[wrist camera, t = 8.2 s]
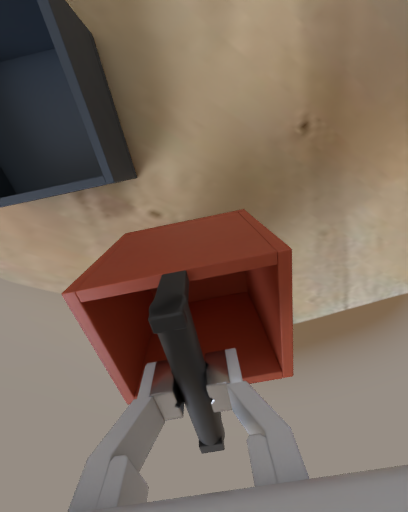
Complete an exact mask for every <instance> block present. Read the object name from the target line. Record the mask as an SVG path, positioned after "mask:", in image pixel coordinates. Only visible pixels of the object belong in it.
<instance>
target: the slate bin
mask: <svg viewBox="0 0 408 512" xmlns="http://www.w3.org/2000/svg"><path fill="white" fill-rule="evenodd" d="M135 178H137V175H136V172H135V169H134V166H133V163H132V160H131V156H130V153H129V150H128V147H127V144H126V141H125V137H124V134H123V131H122V128H121V125H120V122H119V118H118V115H117V112H116V109H115V106H114V102H113V99H112V96H111V93H110V90H109V87H108V83H107V80H106V77H105V74H104V71H103V68H102V64H101V61H100V58H99V55H98V52H97V49H96V45H95V42H94V39H93V36H92V34H91V32H90V31H89V30H88V29H87V27H86V26H85V25H84V24H83V22H82V21H81V20H80V19H79V17H78V16H77V15H76V13H75V12H74V11H73V10H72V8H71V7H70V6H69V5H68V3H67V2H66V1H65V0H0V207H5V206H10V205H14V204H19V203H24V202H28V201H33V200H38V199H42V198H47V197H51V196H56V195H61V194H65V193H70V192H75V191H79V190H84V189H89V188H93V187H98V186H103V185H107V184H112V183H116V182H121V181H126V180H130V179H135Z"/></svg>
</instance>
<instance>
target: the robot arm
mask: <svg viewBox="0 0 408 512" xmlns="http://www.w3.org/2000/svg"><path fill="white" fill-rule="evenodd" d="M205 364H206V368H207V369H206V371H205V376H206V388H207V392H208V395H209V397H210V398H211V405H212V408H213V411H214V412H221V411H228V410H233V412H234V413H235V415H236V416H237V418H238V419H239V421H240V422H241V424H242V425H243V426H244V428H245V429H246V431H247V432H248V434H249V436H248V439H247V445H248V450H249V456H250V462H251V468H252V473H253V479H254V484H255V487H250V488H244V489H236V490H230V491H222V492H215V493H209V494H201V495H195V496H188V497H181V498H174V499H167V500H160V501H153V502H147V496H148V489H149V487H148V485H147V483H146V482H145V480H144V479H143V477H142V476H141V475H140V473H139V471H140V469H141V468H142V466H143V464H144V462H145V459H146V458H147V456H148V454H149V452H150V450H151V448H152V446H153V444H154V442H155V441H156V438H157V437H158V435H159V433H160V431H161V429H162V427H163V425H164V423H165V421H167V420H172V419H177V418H182V417H183V411H184V400H183V398H182V395H181V393H180V390H179V388H178V385H177V383H176V380H175V378H174V375H173V373H172V370H171V368H170V365H169V363H168V360H163V361H157V362H151V363H147V364H146V366H145V369H144V373H143V377H142V381H141V385H140V389H139V393H138V396H137V399H134V400H133V401H132V402H131V404H130V405H129V406H128V408H127V409H126V410H125V411H124V413H123V414H122V415H121V417H120V418H119V419H118V421H117V422H116V423H115V424H114V425H113V427H112V428H111V429H110V431H109V432H108V433H107V434H106V436H105V437H104V438H103V440H102V441H101V442H100V444H99V445H98V446H97V447H96V449H95V450H94V451H93V452H92V454H91V455H90V456H89V457H88V459H87V461H86V464H85V466H84V470H83V472H82V475H81V477H80V480H79V483H78V485H77V488H76V491H75V493H74V496H73V499H72V501H71V504H70V507H69V509H68V512H408V465H402V466H395V467H388V468H381V469H375V470H368V471H360V472H354V473H347V474H340V475H333V476H326V477H319V478H312V479H309V476H308V473H307V471H306V468H305V465H304V462H303V460H302V457H301V455H300V452H299V449H298V446H297V443H296V441H295V438H294V435H293V433H292V430H291V428H290V426H289V425H288V424H287V423H286V422H285V421H284V420H283V419H282V418H281V417H280V416H279V415H278V414H277V413H276V412H275V411H274V410H273V409H272V407H271V406H270V405H269V404H268V403H267V402H266V401H265V400H264V399H263V398H262V397H261V396H260V395H259V394H258V393H257V392H256V391H255V390H254V389H253V387H252V386H251V385H250V384H249V383H248V382H247V381H243V379H242V375H241V370H240V366H239V361H238V357H237V353H236V349H235V348H231V349H226V350H225V349H224V350H219V351H214V352H209V353H205Z"/></svg>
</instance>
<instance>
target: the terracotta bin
mask: <svg viewBox="0 0 408 512" xmlns="http://www.w3.org/2000/svg"><path fill="white" fill-rule="evenodd" d="M62 296H63V298H64V299H65V301H66V303H67V305H68V306H69V308H70V309H71V311H72V313H73V314H74V316H75V318H76V320H77V321H78V323H79V325H80V326H81V328H82V330H83V331H84V333H85V334H86V336H87V338H88V340H89V341H90V343H91V345H92V346H93V348H94V350H95V351H96V353H97V355H98V356H99V358H100V360H101V361H102V363H103V365H104V366H105V368H106V370H107V371H108V373H109V375H110V376H111V378H112V379H113V381H114V383H115V385H116V386H117V388H118V390H119V391H120V393H121V395H122V396H123V398H124V400H125V401H126V403H127V404H131V402H132V401H133V400H134V399H137V396H138V393H139V389H140V385H141V381H142V377H143V373H144V369H145V366H146V364H147V363H151V362H157V361H163V360H168V363H169V365H170V368H171V370H172V373H173V375H174V378H175V380H176V383H177V385H178V388H179V390H180V393H181V395H182V398H183V400H184V403H185V405H186V408H187V410H188V413H189V416H190V418H191V421H192V423H193V426H194V428H195V431H196V433H197V436H198V438H199V447H200V450H201V452H202V453H208V452H215V451H221V450H224V437H225V433H224V428H223V424H222V420H221V412H214V411H213V408H212V405H211V398H210V397H209V395H208V392H207V388H206V376H205V371H206V369H207V368H206V364H205V353H209V352H214V351H219V350H224V349H225V350H226V349H231V348H235V349H236V353H237V357H238V361H239V366H240V370H241V375H242V379H243V381H247V382H248V383H249V384H252V383H257V382H263V381H269V380H274V379H281V378H282V377H283V378H285V377H292V376H293V312H292V249H291V248H290V247H289V246H288V245H286V244H285V243H284V242H283V241H282V240H280V239H279V238H278V237H277V236H276V235H274V234H273V233H272V232H271V231H270V230H268V229H267V228H266V227H265V226H263V225H262V224H261V223H260V222H259V221H257V220H256V219H255V218H254V217H253V216H251V215H250V214H249V213H248V212H247V211H245V210H244V209H242V210H237V211H232V212H227V213H222V214H218V215H213V216H208V217H203V218H198V219H193V220H188V221H184V222H179V223H174V224H169V225H164V226H159V227H154V228H150V229H145V230H140V231H135V232H130V233H125V234H124V235H123V236H122V237H121V238H120V239H119V240H118V241H117V242H116V243H115V244H114V245H113V246H112V247H110V248H109V249H108V250H107V251H106V252H105V253H104V254H103V255H102V256H101V257H100V258H99V259H98V260H97V261H96V262H95V263H93V264H92V265H91V266H90V267H89V268H88V269H87V270H86V271H85V272H84V273H83V274H82V275H81V276H80V277H79V278H78V279H76V280H75V281H74V282H73V283H72V284H71V285H70V286H69V287H68V288H67V289H66V290H65V291H64V292H63V293H62Z"/></svg>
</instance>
